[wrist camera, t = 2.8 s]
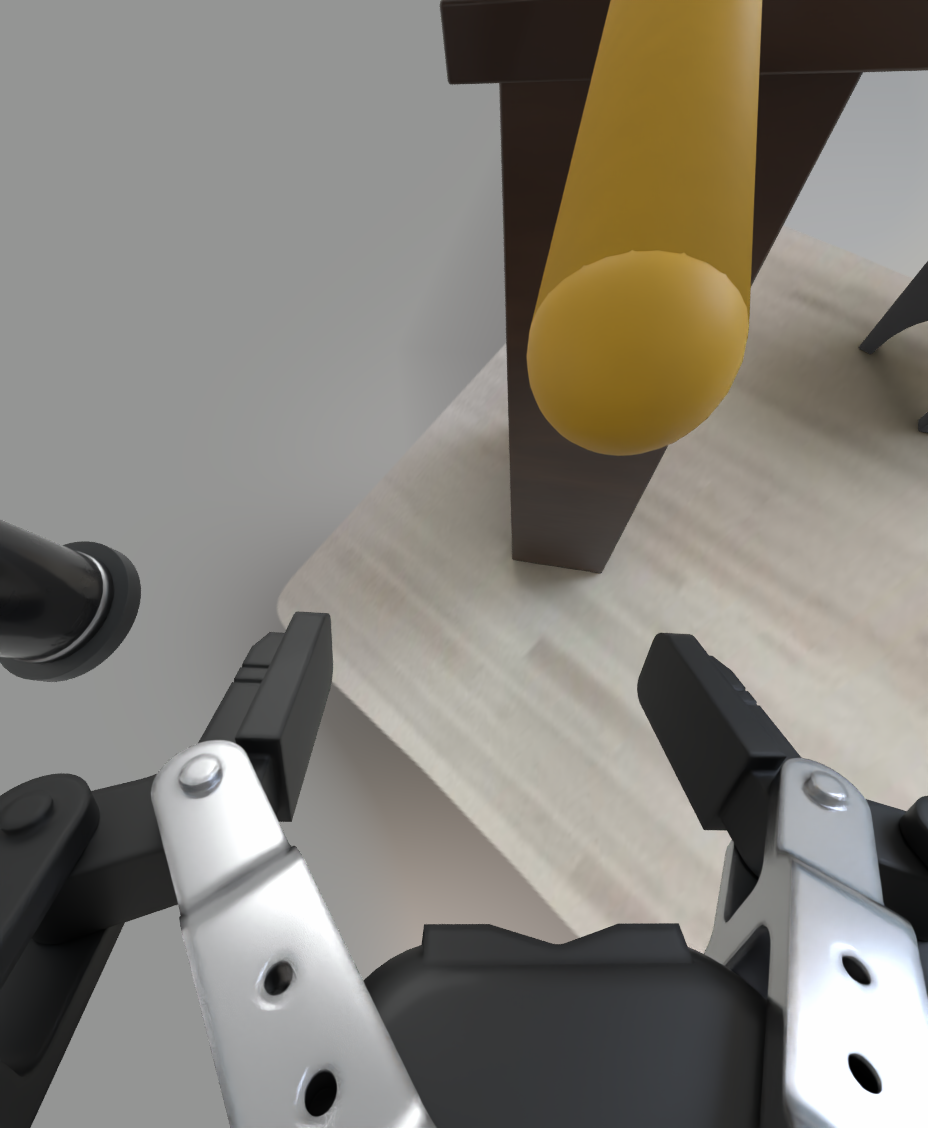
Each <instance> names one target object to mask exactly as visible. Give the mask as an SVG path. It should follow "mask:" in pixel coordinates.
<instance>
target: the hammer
mask: <svg viewBox="0 0 928 1128" xmlns="http://www.w3.org/2000/svg"><path fill="white" fill-rule="evenodd" d="M761 18H762V0H611V1H610V5H609V9H608V13H607V17H606V21H605V26H604V30H603V34H602V38H601V42H600V46H599V50H598V54H597V58H596V62H595V66H594V70H593V74H592V78H591V83H590V87H589V91H588V95H587V99H586V103H585V107H584V111H583V115H582V119H581V123H580V127H579V131H578V136H577V140H576V144H575V148H574V152H573V156H572V160H571V164H570V168H569V172H568V176H567V180H566V184H565V189H564V193H563V197H562V201H561V205H560V209H559V213H558V217H557V221H556V225H555V229H554V233H553V237H552V242H551V246H550V250H549V254H548V258H547V262H546V266H545V270H544V274H543V278H542V282H541V286H540V290H539V295H538V299H537V303H536V307H535V311H534V315H533V319H532V323H531V327H530V331H529V340H528V349H527V366H528V375H529V382H530V387H531V389H532V392H533V395H534V398H535V400H536V402H537V404H538V407H539V409H540V411H541V412H542V414H543V415H544V417H545V418H546V420H547V421H548V422H549V423H550V424H551V425H552V426H553V427H554V428H555V429H556V430H557V431H558V432H559V433H560V434H561V435H562V436H563V437H565V438H566V439H568V440H569V441H570V442H572V443H574V444H576V445H578V446H581V447H583V448H585V449H587V450H590V451H593V452H596V453H600V454H606V455H616V456H625V455H635V454H641V453H645V452H649V451H652V450H656V449H659V448H662V447H664V446H667V445H669V444H672V443H674V442H675V441H677V440H679V439H680V438H682V437H684V436H685V435H687V434H688V433H690V432H691V431H692V430H694V429H695V428H697V427H698V426H699V425H700V424H701V423H702V422H704V421H705V420H706V419H707V418H708V417H709V416H710V414H711V413H712V412H713V411H714V410H715V409H716V407H717V406H718V405H719V404H720V402H721V401H722V400H723V398H724V397H725V396H726V395H727V393H728V392H729V390H730V387H731V385H732V383H733V381H734V379H735V377H736V375H737V373H738V371H739V368H740V366H741V364H742V362H743V357H744V352H745V347H746V342H747V338H748V330H749V314H750V289H751V264H752V240H753V215H754V190H755V166H756V141H757V117H758V92H759V67H760V43H761Z"/></svg>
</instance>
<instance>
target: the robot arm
mask: <svg viewBox="0 0 928 1128" xmlns="http://www.w3.org/2000/svg"><path fill="white" fill-rule="evenodd" d="M112 599H113V580H112V577H111V574H110V572H109V570H108V568H107V567H106V566H105V565H104V564H103V563H102V562H101V561H100V560H98V559H96V558H94V557H92V556H90V555H87V554H85V553H82V552H78V551H74V550H72V549H70V548H67V547H65V546H62V545H60V544H58V543H55V542H53V541H51V540H48V539H46V538H43V537H41V536H39V535H36V534H34V533H32V532H29V531H27V530H24V529H22V528H19V527H17V526H15V525H12V524H10V523H7V522H5V521H3V520H0V657H6V658H13V659H15V660H19V661H24V662H30V663H41V664H43V663H50V662H55V661H58V660H61V659H63V658H66V657H68V656H70V655H71V654H73V653H75V652H76V651H78V650H79V649H80V648H82V647H83V646H84V645H85V644H86V643H88V642H89V641H90V640H91V639H92V637H93V636H94V635H95V634H96V633H97V632H98V630H99V629H100V627H101V626H102V624H103V623H104V621H105V619H106V617H107V615H108V613H109V610H110V607H111V604H112ZM332 674H333V654H332V634H331V619H330V615H329V613H312V612H295V614H294V615H293V617H292V619H291V621H290V623H289V626H288V628H287V630H286V632H285V633H275V632H269V633H268V634H267V635H266V636H265V637H263V638H262V639H261V640H260V641H258V642H257V643H256V644H255V645H254V646H252V648H251V649H250V651H249V653H248V655H247V657H246V659H245V660H244V662H243V664H242V668H240V669H239V671H238V673H237V675H236V677H235V678H234V683H233V682H232V683H231V685H230V687H229V689H228V691H227V692H226V694H225V696H224V698H223V700H222V701H221V703H220V705H219V707H218V709H217V710H216V712H215V714H214V716H213V718H212V719H211V721H210V723H209V725H208V726H207V728H206V730H205V732H204V734H203V735H202V737H201V739H200V740H199V742H198V744H196V745H193V746H190V747H188V748H186V749H184V750H183V751H181V752H179V753H178V754H176V755H175V756H174V757H173V758H171V759H170V760H169V761H168V762H167V763H166V764H165V765H164V766H163V767H162V768H161V769H160V771H159V772H158V774H155V775H153V776H150V777H147V778H143V779H140V780H136V781H131V782H127V783H123V784H119V785H115V786H111V787H107V788H102V789H98V790H94V791H91V790H90V788H89V786H88V785H87V783H86V782H85V781H84V780H83V779H82V778H80V777H78V776H76V775H72V774H51V775H46V776H42V777H39V778H35V779H32V780H30V781H28V782H25V783H22V784H20V785H18V786H16V787H14V788H12V789H11V790H9V791H7V792H6V793H4V794H2V795H1V796H0V1128H30V1127H31V1125H32V1123H33V1121H34V1119H35V1116H36V1114H37V1112H38V1110H39V1108H40V1105H41V1103H42V1101H43V1099H44V1097H45V1095H46V1092H47V1090H48V1088H49V1086H50V1084H51V1082H52V1079H53V1077H54V1075H55V1073H56V1071H57V1068H58V1066H59V1064H60V1062H61V1060H62V1058H63V1056H64V1053H65V1051H66V1049H67V1047H68V1045H69V1042H70V1040H71V1038H72V1036H73V1034H74V1031H75V1029H76V1027H77V1025H78V1023H79V1021H80V1018H81V1016H82V1014H83V1012H84V1010H85V1008H86V1006H87V1003H88V1001H89V999H90V997H91V994H92V992H93V990H94V988H95V986H96V984H97V982H98V979H99V977H100V975H101V973H102V971H103V969H104V966H105V964H106V962H107V960H108V958H109V955H110V953H111V951H112V949H113V947H114V945H115V943H116V940H117V938H118V936H119V934H120V932H121V929H122V927H123V925H124V923H125V922H127V921H130V920H133V919H136V918H139V917H142V916H145V915H148V914H151V913H154V912H156V911H160V910H163V909H166V908H168V907H171V906H174V905H177V904H178V905H179V909H180V915H181V916H180V926H181V931H182V935H183V940H184V944H185V948H186V952H187V956H188V960H189V964H190V968H191V972H192V976H193V980H194V983H195V988H196V992H197V996H198V1000H199V1004H200V1008H201V1012H202V1016H203V1020H204V1024H205V1028H206V1032H207V1036H208V1040H209V1044H210V1048H211V1052H212V1056H213V1060H214V1064H215V1068H216V1072H217V1076H218V1080H219V1084H220V1088H221V1092H222V1096H223V1100H224V1104H225V1108H226V1112H227V1116H228V1120H229V1124H230V1128H928V796H924V797H921V798H920V799H918V800H917V801H916V802H915V803H914V804H913V805H912V806H911V807H910V808H909V810H908V811H904V810H900V809H897V808H894V807H890V806H887V805H884V804H880V803H877V802H874V801H870V800H867V799H865V798H864V797H863V795H862V794H861V793H860V792H859V790H858V789H857V788H856V787H855V786H854V785H853V784H852V783H851V782H849V781H848V780H847V779H846V778H845V777H843V776H842V775H840V774H839V773H837V772H836V771H834V770H833V769H831V768H829V767H827V766H825V765H823V764H821V763H818V762H816V761H813V760H809V759H804V758H801V757H800V755H799V754H798V753H797V752H796V750H795V749H794V748H793V747H792V745H791V744H790V743H789V742H788V740H787V739H786V738H785V737H784V735H783V734H782V733H781V732H780V730H779V729H778V728H777V727H776V725H775V724H774V723H773V722H772V720H771V719H770V718H769V717H768V715H767V714H766V713H765V712H764V710H763V709H762V708H761V707H760V706H757V704H756V703H757V702H756V700H755V699H754V698H753V697H752V695H751V694H750V693H749V692H748V691H745V687H744V686H743V684H742V683H741V682H740V681H739V679H738V678H737V677H736V676H735V674H734V673H733V672H732V671H731V670H730V669H729V668H727V667H726V666H725V665H723V664H722V663H721V662H719V661H718V660H717V659H716V658H714V657H713V656H709V655H708V654H707V652H706V651H705V650H704V649H703V647H702V646H701V645H700V643H699V642H698V641H697V640H696V638H695V637H694V636H692V635H690V634H674V633H659V634H657V635H656V636H655V638H654V640H653V642H652V645H651V647H650V650H649V652H648V655H647V658H646V660H645V663H644V665H643V668H642V671H641V673H640V676H639V679H638V684H637V692H638V698H639V702H640V704H641V706H642V708H643V710H644V712H645V714H646V716H647V718H648V720H649V722H650V724H651V726H652V728H653V730H654V732H655V734H656V736H657V738H658V740H659V742H660V744H661V746H662V748H663V750H664V752H665V754H666V756H667V758H668V760H669V762H670V764H671V766H672V768H673V770H674V772H675V774H676V776H677V778H678V780H679V782H680V784H681V786H682V788H683V790H684V792H685V794H686V795H687V797H688V799H689V801H690V803H691V805H692V807H693V809H694V811H695V813H696V815H697V817H698V819H699V821H700V823H701V825H702V827H703V829H704V830H727V831H728V833H729V835H730V837H731V838H732V840H731V842H730V843H729V845H728V846H727V849H726V854H725V860H724V866H723V872H722V879H721V885H720V891H719V897H718V903H717V909H716V915H715V921H714V927H713V932H712V935H711V938H710V941H709V944H708V946H707V948H706V950H705V952H704V954H702V953H700V952H698V951H696V950H694V949H691V948H689V947H687V944H686V942H685V939H684V936H683V934H682V931H681V929H680V926H679V923H678V924H616V925H614V926H611V927H608V928H605V929H603V930H600V931H597V932H595V933H592V934H589V935H586V936H584V937H581V938H578V939H575V940H573V941H570V942H567V943H564V944H552V943H548V942H545V941H542V940H538V939H535V938H532V937H528V936H525V935H522V934H519V933H516V932H512V931H509V930H506V929H503V928H499V927H496V926H493V925H490V924H454V925H453V924H439V925H437V924H428V925H424V930H423V938H422V945H420V946H418V947H415V948H412V949H409V950H407V951H405V952H403V953H401V954H399V955H397V956H395V957H393V958H392V959H390V960H388V961H387V962H386V963H384V964H383V965H381V966H380V967H379V968H377V969H376V970H375V971H374V972H372V973H371V974H370V975H369V976H368V977H367V978H366V979H365V980H364V981H363V980H362V977H361V975H360V973H359V971H358V969H357V967H356V965H355V963H354V961H353V959H352V957H351V955H350V953H349V951H348V949H347V947H346V944H345V942H344V940H343V938H342V936H341V934H340V932H339V930H338V928H337V926H336V924H335V922H334V920H333V918H332V916H331V913H330V911H329V909H328V907H327V905H326V903H325V901H324V899H323V897H322V895H321V893H320V891H319V889H318V887H317V885H316V882H315V881H314V878H313V876H312V875H311V872H310V870H309V868H308V866H307V864H306V862H305V860H304V858H303V857H302V854H301V853H300V851H299V850H298V849H297V847H296V846H292V847H291V845H290V844H289V842H288V840H287V839H286V836H285V834H284V832H283V830H282V828H281V826H280V824H279V822H280V821H281V822H282V821H283V822H292V818H293V814H294V811H295V808H296V804H297V801H298V797H299V794H300V790H301V787H302V784H303V780H304V777H305V773H306V770H307V767H308V763H309V760H310V756H311V753H312V750H313V746H314V743H315V739H316V736H317V732H318V729H319V725H320V722H321V718H322V715H323V712H324V708H325V705H326V701H327V698H328V694H329V691H330V687H331V682H332Z"/></svg>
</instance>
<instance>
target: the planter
mask: <svg viewBox="0 0 928 1128" xmlns="http://www.w3.org/2000/svg"><path fill="white" fill-rule="evenodd" d="M925 321H928V262H927V263H926V264H925V265H924V266H923V268H922V269H921V270H920V271H919V273H918V274H917V275H916V276H915V278H914V279H913V280H912V281H911V283H910V284H909V285H908V286H907V288H906V289H905V290H904V291H903V293H902V294H901V295H900V296H899V298H898V299H897V300H896V301H895V302H894V304H893V305H892V306H891V307H890V309H889V310H888V311H887V312H886V314H885V315H884V316H883V317H882V319H881V320H880V321H879V322H878V324H877V325H876V326H875V327H874V329H873V330H872V331H871V332H870V334H869V335H868V336H867V337H866V339H865V340H864V341H863V342H862V344H861V345H860V346H859V349H861V350H863V351H865V352H867V353H869V354H872V353H873V352H874V351H875V350H876V349H878V348H879V347H880V346H881V345H882V344H883V343H885V342H886V341H887V340H888V339H890V338H891V337H893V336H894V335H896V334H898V333H899V332H901V331H903V330H905V329H906V328H909V327H911V326H913V325H916V324H919V323H922V322H925ZM918 431H921V432H927V433H928V412H927V413H926V414H925V415H923V416H922V417H921V418H920V419H919V420H918Z"/></svg>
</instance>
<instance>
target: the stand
mask: <svg viewBox="0 0 928 1128" xmlns="http://www.w3.org/2000/svg"><path fill="white" fill-rule="evenodd" d="M610 1H611V0H441V1H440V12H441V22H442V30H443V40H444V50H445V59H446V69H447V77H448V82H449V84H480V83H481V84H482V83H499V90H500V124H501V163H502V198H503V234H504V272H505V307H506V345H507V381H508V417H509V454H510V490H511V526H512V559H513V560H518V561H524V562H531V563H537V564H544V565H550V566H557V567H564V568H570V569H577V570H583V571H590V572H596V573H602V571H603V569H604V567H605V565H606V563H607V561H608V560H609V558H610V556H611V554H612V552H613V550H614V548H615V546H616V544H617V542H618V540H619V539H620V537H621V535H622V533H623V531H624V529H625V527H626V525H627V523H628V521H629V519H630V517H631V516H632V514H633V512H634V510H635V508H636V506H637V504H638V502H639V500H640V498H641V496H642V494H643V493H644V491H645V489H646V487H647V485H648V483H649V481H650V479H651V477H652V475H653V473H654V471H655V470H656V468H657V466H658V464H659V462H660V460H661V458H662V456H663V454H664V452H665V450H666V449H667V447H668V445H667V446H664V447H662V448H659V449H656V450H652V451H649V452H645V453H641V454H635V455H625V456H616V455H606V454H600V453H596V452H593V451H590V450H587V449H585V448H583V447H581V446H578V445H576V444H574V443H572V442H570V441H569V440H568V439H566V438H565V437H563V436H562V435H561V434H560V433H559V432H558V431H557V430H556V429H555V428H554V427H553V426H552V425H551V424H550V423H549V422H548V421H547V420H546V418H545V417H544V415H543V414H542V412H541V411H540V409H539V407H538V404H537V402H536V400H535V398H534V395H533V392H532V389H531V387H530V382H529V375H528V366H527V349H528V340H529V331H530V327H531V323H532V319H533V315H534V311H535V307H536V303H537V299H538V295H539V290H540V286H541V282H542V278H543V274H544V270H545V266H546V262H547V258H548V254H549V250H550V246H551V242H552V237H553V233H554V229H555V225H556V221H557V217H558V213H559V209H560V205H561V201H562V197H563V193H564V189H565V184H566V180H567V176H568V172H569V168H570V164H571V160H572V156H573V152H574V148H575V144H576V140H577V136H578V131H579V127H580V123H581V119H582V115H583V111H584V107H585V103H586V99H587V95H588V91H589V87H590V83H591V78H592V74H593V70H594V66H595V62H596V58H597V54H598V50H599V46H600V42H601V38H602V34H603V30H604V26H605V21H606V17H607V13H608V9H609V5H610ZM917 70H928V0H762V18H761V43H760V67H759V92H758V117H757V141H756V166H755V190H754V215H753V240H752V264H751V286H752V284H753V282H754V280H755V278H756V276H757V274H758V272H759V270H760V268H761V267H762V265H763V263H764V261H765V259H766V257H767V255H768V253H769V251H770V249H771V247H772V245H773V244H774V242H775V240H776V238H777V236H778V234H779V232H780V230H781V228H782V226H783V224H784V223H785V220H786V219H787V217H788V215H789V213H790V211H791V209H792V207H793V205H794V203H795V201H796V200H797V197H798V196H799V194H800V192H801V190H802V188H803V186H804V184H805V182H806V180H807V178H808V176H809V174H810V173H811V171H812V169H813V167H814V165H815V163H816V161H817V159H818V157H819V155H820V154H821V152H822V150H823V148H824V146H825V144H826V142H827V140H828V138H829V136H830V134H831V133H832V131H833V128H834V126H835V125H836V123H837V121H838V119H839V117H840V115H841V113H842V111H843V110H844V107H845V106H846V103H847V102H848V100H849V98H850V96H851V94H852V92H853V90H854V88H855V86H856V85H857V83H858V81H859V79H860V77H861V75H862V73H863V72H883V71H884V72H885V71H917Z"/></svg>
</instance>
